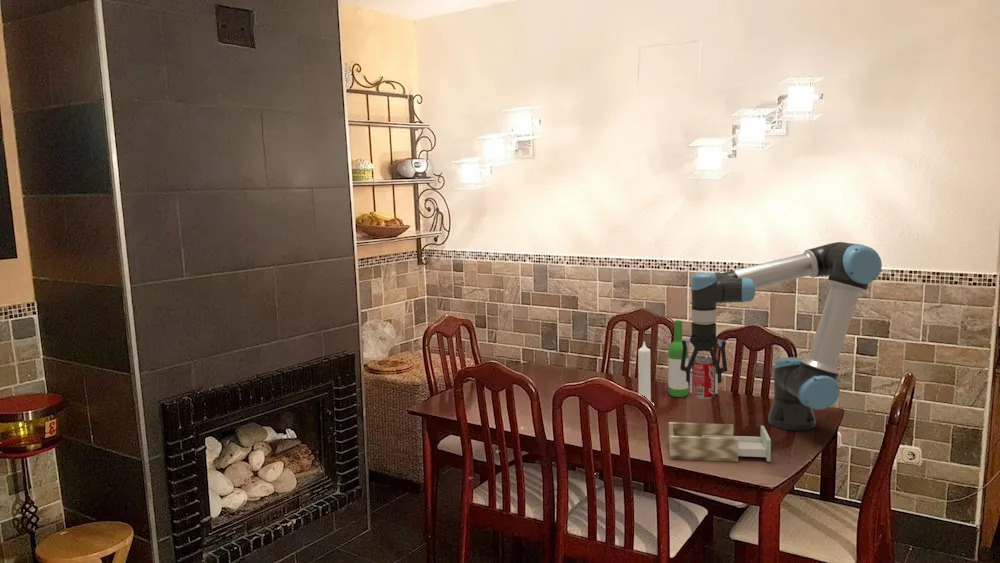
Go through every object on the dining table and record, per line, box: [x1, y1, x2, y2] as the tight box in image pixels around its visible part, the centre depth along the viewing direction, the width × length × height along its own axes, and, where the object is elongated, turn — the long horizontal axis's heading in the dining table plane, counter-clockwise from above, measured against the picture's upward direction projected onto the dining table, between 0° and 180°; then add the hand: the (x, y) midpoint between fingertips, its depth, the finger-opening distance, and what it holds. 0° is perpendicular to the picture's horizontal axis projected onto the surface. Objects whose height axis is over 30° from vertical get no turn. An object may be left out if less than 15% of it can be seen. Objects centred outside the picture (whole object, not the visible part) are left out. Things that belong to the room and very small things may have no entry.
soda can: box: [691, 357, 716, 400], centre depth 228 cm, size 7×7×12 cm
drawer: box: [702, 425, 772, 463], centre depth 220 cm, size 19×13×7 cm
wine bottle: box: [667, 319, 689, 398], centre depth 281 cm, size 8×8×30 cm
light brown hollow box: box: [668, 421, 739, 463], centre depth 223 cm, size 20×14×7 cm
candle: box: [637, 341, 655, 407], centre depth 269 cm, size 7×7×25 cm
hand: (703, 392), depth 228 cm, fingers closed on soda can, 7 cm apart
